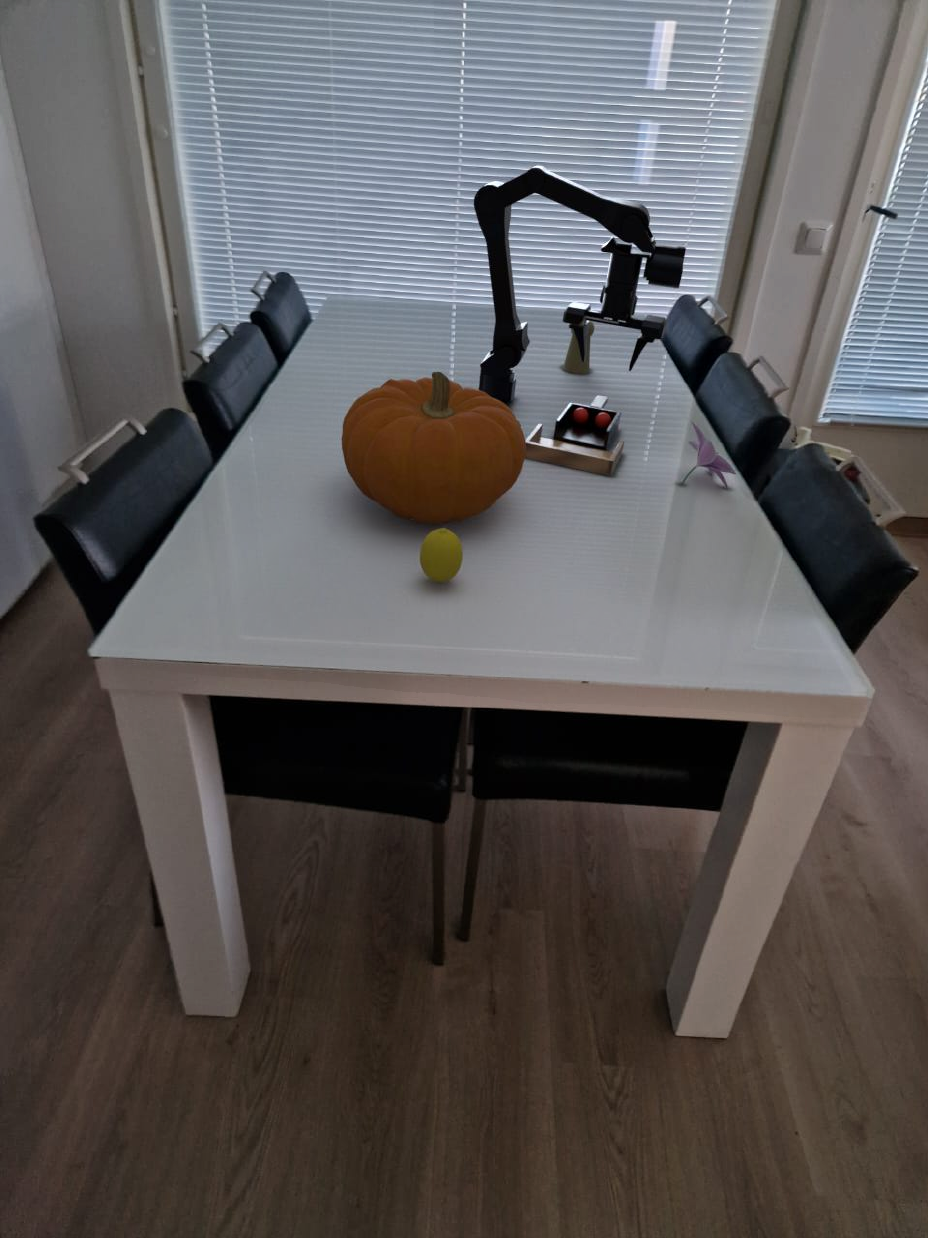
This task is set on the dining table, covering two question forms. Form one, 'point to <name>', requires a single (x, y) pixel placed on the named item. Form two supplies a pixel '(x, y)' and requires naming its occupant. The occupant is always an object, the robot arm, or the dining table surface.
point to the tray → (571, 454)
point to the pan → (587, 425)
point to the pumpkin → (432, 448)
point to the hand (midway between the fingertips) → (606, 365)
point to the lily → (709, 457)
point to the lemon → (441, 555)
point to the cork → (578, 355)
